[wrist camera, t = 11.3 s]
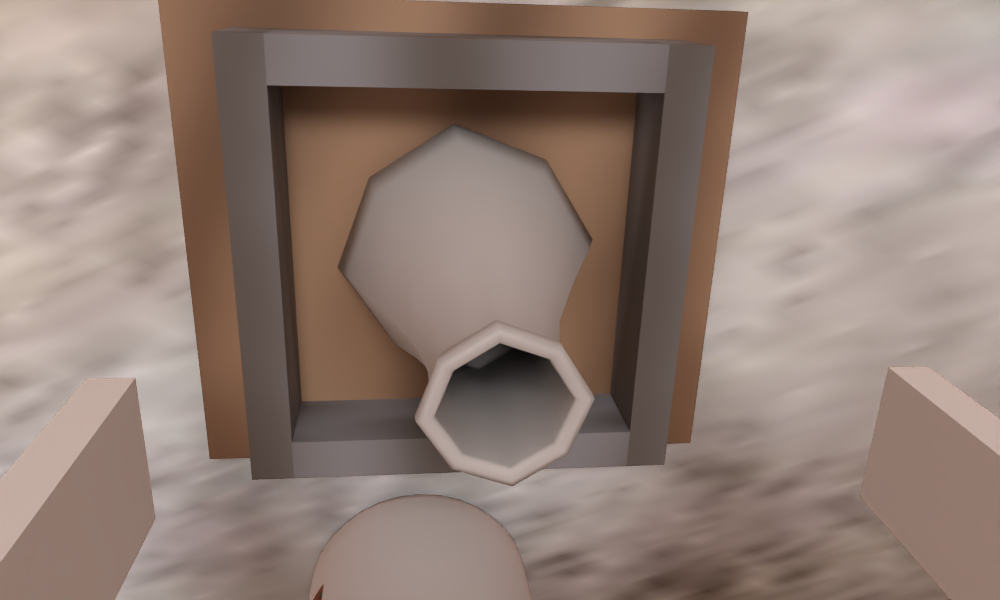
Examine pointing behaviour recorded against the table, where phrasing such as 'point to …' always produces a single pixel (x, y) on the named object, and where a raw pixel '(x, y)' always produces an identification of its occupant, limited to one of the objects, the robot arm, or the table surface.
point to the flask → (477, 297)
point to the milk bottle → (420, 555)
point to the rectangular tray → (393, 133)
